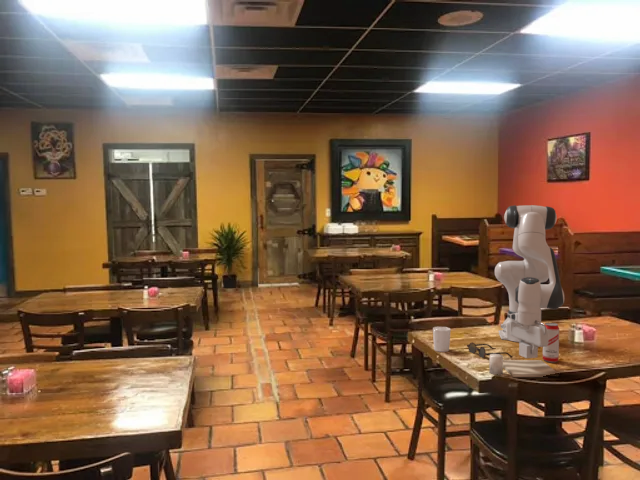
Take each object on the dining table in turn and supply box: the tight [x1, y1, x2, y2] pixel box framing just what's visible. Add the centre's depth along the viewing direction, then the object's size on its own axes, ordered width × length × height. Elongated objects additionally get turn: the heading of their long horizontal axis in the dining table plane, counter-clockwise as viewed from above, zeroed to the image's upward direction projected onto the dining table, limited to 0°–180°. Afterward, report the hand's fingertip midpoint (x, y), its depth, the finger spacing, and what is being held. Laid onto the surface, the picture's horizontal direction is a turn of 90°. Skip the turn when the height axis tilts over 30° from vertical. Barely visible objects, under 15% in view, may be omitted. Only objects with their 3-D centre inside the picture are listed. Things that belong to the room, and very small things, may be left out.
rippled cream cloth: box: [503, 359, 559, 378], centre depth 212 cm, size 18×18×1 cm
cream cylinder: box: [488, 354, 504, 376], centre depth 208 cm, size 5×5×7 cm
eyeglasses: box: [466, 341, 513, 359], centre depth 235 cm, size 15×15×5 cm
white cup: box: [432, 326, 451, 353], centre depth 241 cm, size 8×8×10 cm
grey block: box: [518, 342, 539, 359], centre depth 211 cm, size 5×5×5 cm
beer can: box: [542, 322, 560, 364], centre depth 223 cm, size 6×6×16 cm
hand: (528, 352), depth 211 cm, fingers closed on grey block, 5 cm apart
